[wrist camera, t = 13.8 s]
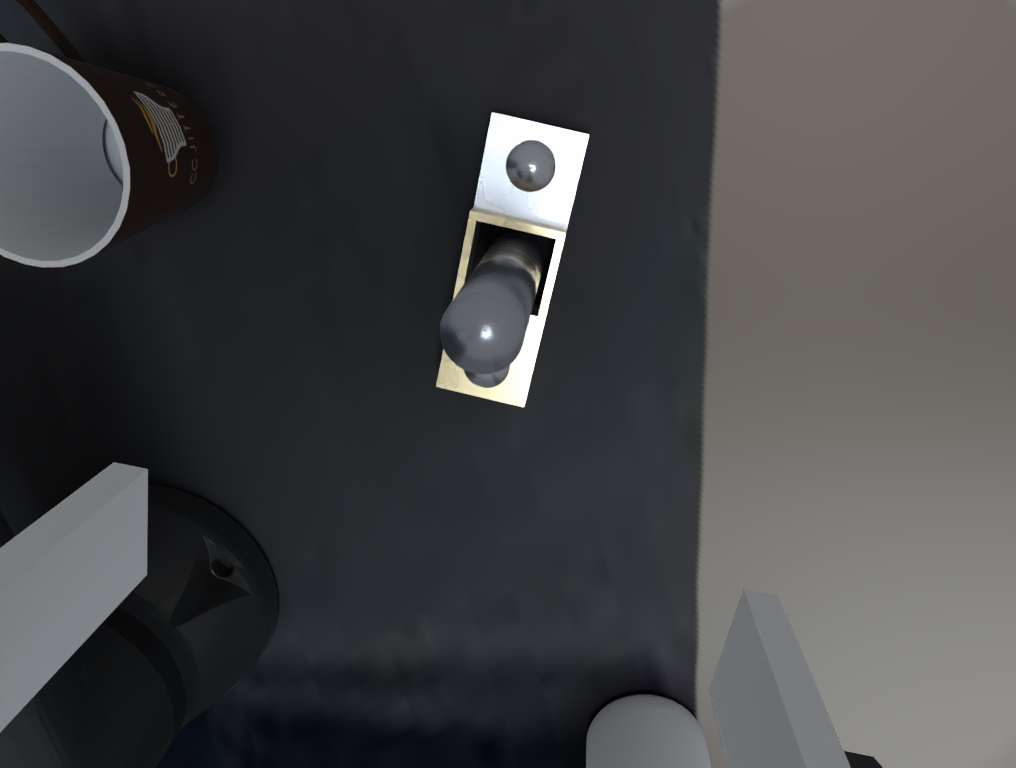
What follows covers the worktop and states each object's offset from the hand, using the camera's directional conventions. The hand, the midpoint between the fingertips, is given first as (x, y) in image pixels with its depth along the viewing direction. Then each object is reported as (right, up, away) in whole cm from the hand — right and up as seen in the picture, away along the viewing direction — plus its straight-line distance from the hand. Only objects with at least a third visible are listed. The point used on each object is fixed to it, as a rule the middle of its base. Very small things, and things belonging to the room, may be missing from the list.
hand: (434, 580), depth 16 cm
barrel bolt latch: (+2, +11, +23) cm, 26 cm away
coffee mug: (-16, +18, +23) cm, 33 cm away
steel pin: (+2, +11, +23) cm, 26 cm away
